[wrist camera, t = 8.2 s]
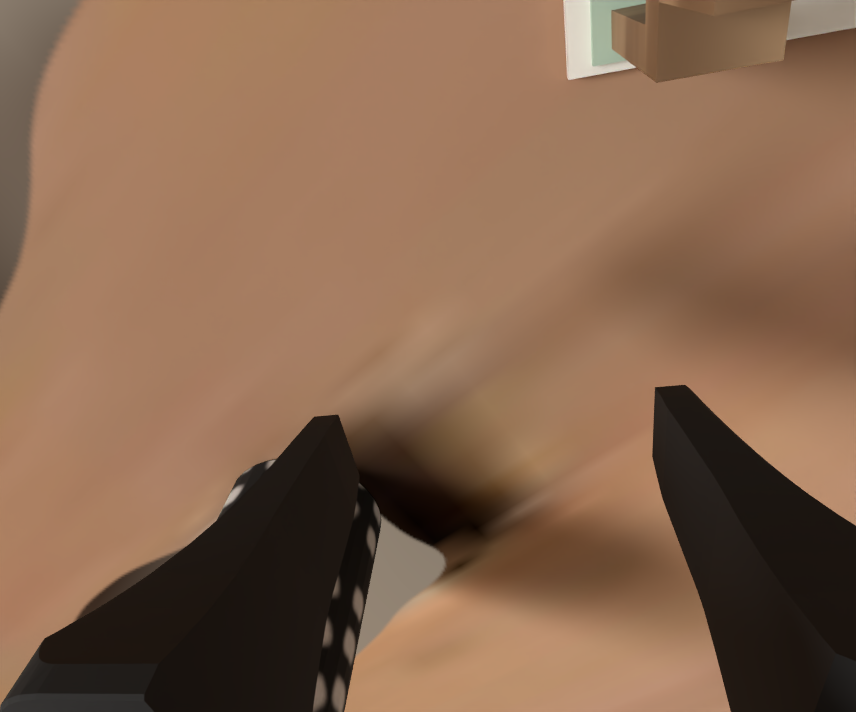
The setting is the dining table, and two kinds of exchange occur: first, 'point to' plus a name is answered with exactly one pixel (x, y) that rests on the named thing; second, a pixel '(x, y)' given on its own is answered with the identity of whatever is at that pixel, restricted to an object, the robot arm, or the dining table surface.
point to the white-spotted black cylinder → (337, 594)
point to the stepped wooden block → (700, 35)
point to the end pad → (605, 29)
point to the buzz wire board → (809, 15)
